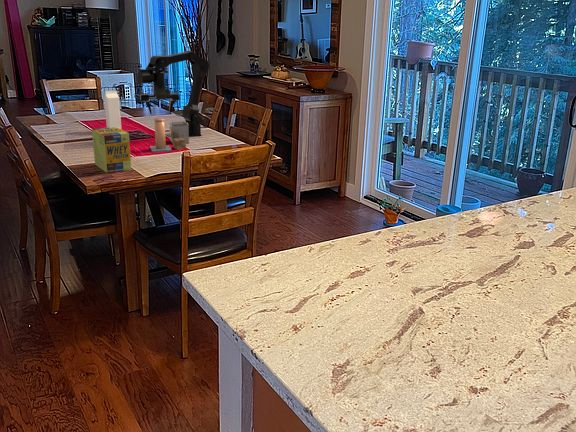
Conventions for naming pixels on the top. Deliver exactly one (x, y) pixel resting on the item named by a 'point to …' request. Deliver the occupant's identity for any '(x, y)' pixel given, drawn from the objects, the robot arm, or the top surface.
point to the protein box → (111, 149)
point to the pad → (153, 149)
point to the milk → (112, 109)
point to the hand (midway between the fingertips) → (160, 114)
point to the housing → (179, 131)
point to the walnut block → (179, 143)
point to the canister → (160, 133)
